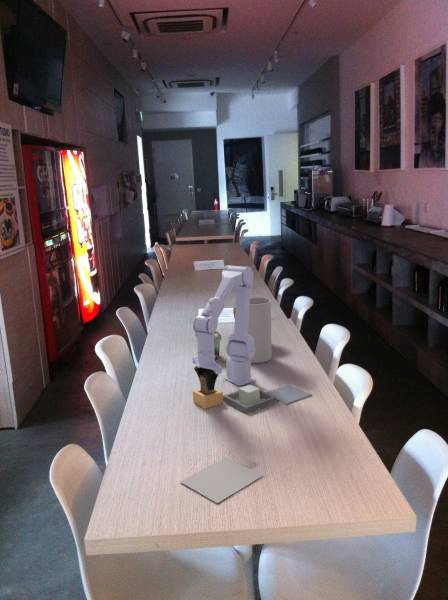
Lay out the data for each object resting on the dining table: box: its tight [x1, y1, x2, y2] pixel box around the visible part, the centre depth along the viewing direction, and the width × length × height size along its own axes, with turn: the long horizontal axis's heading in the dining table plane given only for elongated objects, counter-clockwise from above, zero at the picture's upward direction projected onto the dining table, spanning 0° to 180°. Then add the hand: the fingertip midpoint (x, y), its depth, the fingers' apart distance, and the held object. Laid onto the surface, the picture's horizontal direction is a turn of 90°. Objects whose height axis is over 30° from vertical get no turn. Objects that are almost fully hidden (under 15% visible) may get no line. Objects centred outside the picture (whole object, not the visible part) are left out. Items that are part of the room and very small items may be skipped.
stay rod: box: [199, 374, 215, 395], centre depth 192 cm, size 3×3×7 cm
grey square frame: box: [223, 389, 277, 414], centre depth 193 cm, size 13×13×2 cm
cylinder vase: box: [248, 296, 273, 364], centre depth 232 cm, size 12×12×25 cm
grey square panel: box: [179, 457, 264, 504], centre depth 152 cm, size 23×25×1 cm
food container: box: [214, 330, 223, 360], centre depth 240 cm, size 12×6×10 cm, turn 22°
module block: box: [238, 384, 261, 406], centre depth 193 cm, size 5×5×5 cm
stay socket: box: [192, 387, 224, 409], centre depth 193 cm, size 7×7×4 cm
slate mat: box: [265, 384, 312, 405], centre depth 198 cm, size 12×12×1 cm
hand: (207, 387), depth 193 cm, fingers closed on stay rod, 3 cm apart
